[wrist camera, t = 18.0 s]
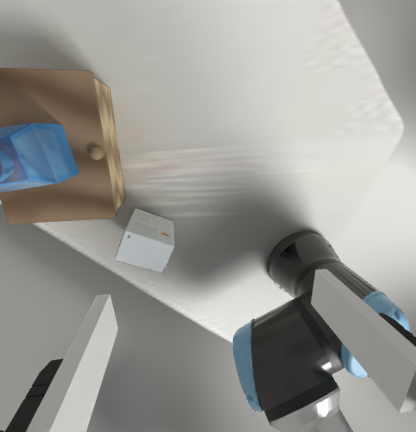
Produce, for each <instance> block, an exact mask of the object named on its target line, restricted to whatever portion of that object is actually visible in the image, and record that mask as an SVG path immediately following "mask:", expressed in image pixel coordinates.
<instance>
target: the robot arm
mask: <svg viewBox="0 0 416 432" xmlns="http://www.w3.org/2000/svg"><path fill="white" fill-rule="evenodd" d="M268 270H269V274H270V276H271V278H272V279H273V281H274V282H275V284H276V285H277V286H278V287H279V288H280V289H282V290H283V291H285V292H288V293H289V294H290V295H291V296H292V297H294V298H295V299H293V300H291V301H289V302H287V303H285V304H283V305H282V306H280V307H278V308H276V309H274V310H272V311H270V312H268V313H266V314H264V315H263V316H261V317H259V318H257V319H252V320H251V321H250V323H248V324H246V325H245V326H243V327H241V328H240V329H238V330H237V331H236V332H235V334H234V337H233V353H234V360H235V364H236V369H237V373H238V376H239V380H240V383H241V386H242V389H243V391H244V393H245V395H246V397H247V400H248V402H249V404H250V406H251V407H252V409H253V410H255V411H259V412H262V411H263V410H264V411H265V414H266V416H267V419H268V421H269V424H270V425H271V426H273V427H274V428H276V429H278V430H279V431H281V432H353V430H352V429H351V427H350V425H349V424H348V422H347V420H346V419H345V417H344V415H343V414H342V412H341V410H340V407H339V397H340V388H339V386H338V385H337V383H336V382H335V380H334V378H333V377H332V374H333V373H335V372H337V371H339V370H341V369H343V368H345V369H346V370H347V371H348V372H349V373H351V374H352V375H354V376H356V377H359V378H365V377H366V376H367V377H370V378H371V379H372V380H373V381H374V382H375V384H376V385H377V386H378V387H379V388H380V390H381V391H382V392H383V394H384V395H385V396H386V397H387V399H388V400H389V401H390V402H391V404H392V405H393V406H394V407H395V409H396V410H397V411H398V412H399V413H403V412H408V411H413V410H416V337H414V336H413V334H411V333H410V326H409V322H408V319H407V317H406V315H405V314H404V312H402V310H401V309H399V308H398V307H397V306H396V305H395V304H394V303H393V302H391V301H390V300H389V299H388V298H387V296H386V295H385V294H384V293H382V292H380V291H378V290H377V289H376V288H374V287H373V286H372V285H371V284H369V283H368V282H367V281H365V280H364V279H363V278H361V277H360V276H358V275H357V274H356V273H355V272H353V271H352V270H351V269H350V268H348V267H347V266H345V265H344V264H343V263H342V262H341V261H340V259H339V258H338V256H337V254H336V253H335V252H334V249H333V247H332V246H331V244H330V243H329V242H328V241H327V240H325V239H324V238H323V237H321V236H320V235H318V234H316V233H313V232H299V233H295V234H292V235H290V236H288V237H286V238H285V239H283V240H282V241H281V242H280V243H279V244H278V245H277V246H276V247H275V248H274V250H273V252H272V253H271V255H270V258H269V262H268ZM117 331H118V327H117V322H116V318H115V314H114V310H113V306H112V301H111V297H110V294H105V295H97V296H96V298H95V299H94V301H93V303H92V305H91V307H90V309H89V311H88V313H87V315H86V317H85V319H84V321H83V322H82V325H81V326H80V328H79V330H78V332H77V334H76V336H75V338H74V340H73V342H72V344H71V346H70V348H69V349H68V351H67V353H66V355H65V358H64V359H59V360H53V361H50V362H49V363H48V365H47V366H46V367H45V368H44V369H43V370H42V371H41V372H40V373H39V375H38V377H37V378H36V380H35V382H34V383H33V385H32V388H30V390H29V392H28V393H27V395H26V398H25V399H24V400H23V402H22V404H21V405H20V407H19V409H18V411H17V412H16V414H15V416H14V417H13V419H12V421H11V422H10V424H9V426H8V427H7V429H6V431H5V432H86V430H87V427H88V424H89V421H90V418H91V414H92V411H93V408H94V405H95V402H96V398H97V395H98V392H99V389H100V385H101V382H102V379H103V376H104V373H105V370H106V366H107V363H108V360H109V357H110V354H111V350H112V347H113V344H114V341H115V337H116V334H117ZM0 432H4V431H1V430H0Z"/></svg>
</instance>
